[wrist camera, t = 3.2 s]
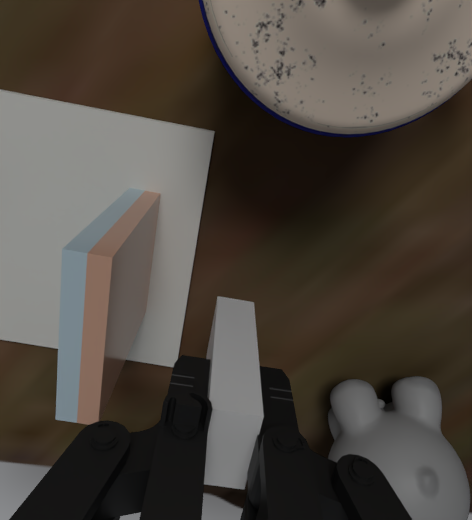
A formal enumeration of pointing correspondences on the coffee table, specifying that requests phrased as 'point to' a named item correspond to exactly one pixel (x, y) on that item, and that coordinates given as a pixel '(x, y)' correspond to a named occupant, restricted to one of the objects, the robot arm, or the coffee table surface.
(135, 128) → the mat
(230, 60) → the teacup with lid
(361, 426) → the chubby cartoon animal
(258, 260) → the coffee table surface
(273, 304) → the coffee table surface
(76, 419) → the tile
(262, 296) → the coffee table surface
